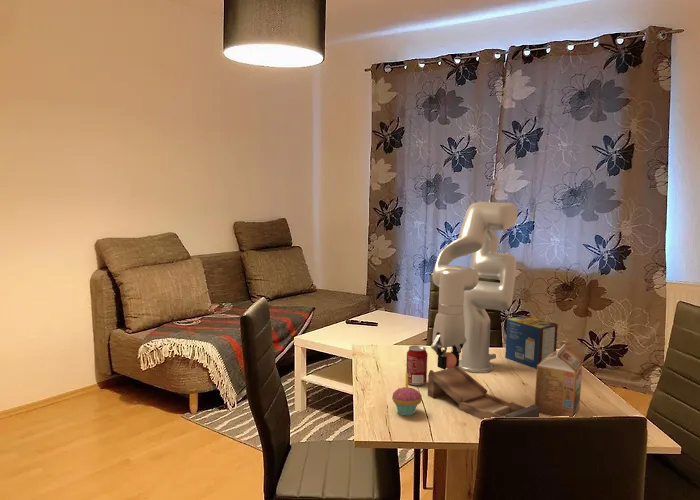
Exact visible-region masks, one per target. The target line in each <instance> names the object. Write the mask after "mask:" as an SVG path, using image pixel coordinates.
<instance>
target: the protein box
mask: <svg viewBox="0 0 700 500" xmlns="http://www.w3.org/2000/svg"><path fill="white" fill-rule="evenodd" d="M506 320H507V322H506V336H505V338H506V339H505V341H506V342H505V353H504V354H505V355H504V358H505V359H507V360H510V361H512V362H515V363H518V364H521V365H523V366H527V367H530V368H533V369H534V370H535V369H536V370H537V365H538V364H539V363H540V362H541V361H542V360H543V359H544V358H545V357H546V356H547V355H549V354H550V353H552V352H555V351H557V344H558V343H557V342H558V341H557V340H558V328H559V327H558V325H559V324H558V323H555V322H551V321H546V320H543V319H539V318H535V317H531V316H528V315H521V316H517V317H516V316H515V317H510V318H507V319H506Z"/></svg>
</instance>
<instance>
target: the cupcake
mask: <svg viewBox="0 0 700 500" xmlns="http://www.w3.org/2000/svg"><path fill="white" fill-rule="evenodd" d="M405 370H406V369H405ZM392 393H393V394H392V397H391V399H392V402H393V403H394V404H395V406H396V410H397V413H398V414H399V415H402V416H412V415H414V414H415V412H416V409H417V406H418V405H419V404H421V402H422V401H423V400H422V399H423V398H422V397H423V396H422V394H421V393H420V390H419V391H418V390H417V389H415V388H412V387H409V383H408V373H407V370H406V371H405V386H404V387H400V388H397V389H395V390H394V392H392Z"/></svg>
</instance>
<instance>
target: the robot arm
mask: <svg viewBox="0 0 700 500" xmlns="http://www.w3.org/2000/svg"><path fill="white" fill-rule="evenodd" d="M517 220H518V209H517V206H516V205H515V204H514V203H511V202H494V201H478V202H477V201H476V202H474V203H471V204H470V205H469V206H468V208H467V210H466V212H465V215H464V218H463V220H462V225H461V228H460V231H459V233H458V237H457V239H455V240H452V242H450V243H449V244H447V245H446V246H445V247H444V248H442V249H441V251H440V252H439V254H438V256H437V259H436V262H435V265H434V268H433V271H432V283H433V284H434V285H435V286H437V287H438V293H439V294H438V308H437V309H438V310H437V311H438V313H435V314H436V315H435V317H434V323H433V331H432V344H431V346H430V348H431V349H433V351H434V352H435V353H436V356H437V368H439V369H442V370H445V369H447V368H446V364H447V357H446V356H445V355H446V352H447V350H448V348H450V347H451V351H450V353H453V354H454V355H455V356H456V359H457V362H456V365H455V366H459V367H460V368H461V369H463V370H464V371H465V372H470V373H471V372H472V373H487V372H490V371H492V370H493V366H494V365H493V364H492V363H491V362H490V361H491V360H494V359H497V355H496V353H490V338H491V337H490V336H491V318H490V316H489V313H487V311H486V309H487V310H494V311H508V310H509V309H510V308H511V306H512V303H513V298H514V297H513V296H514V292H515V291H514V290H515V282H516V275H517V274H516V273H517V260H516V258H515V256H514V255H512V254H509V253H506V252H504V253H503V252H498V246H499V245H498V244H499V238H498V237H497V235H496V233H495V231H506V230H509V229H511V228H512V227H513V226H514V225H515V224H516V222H517ZM468 255H471V259H470V265H469V266H462V265H455V264H454V265H453V264H451V263H452V262H453V261H454V260H457V259H458V258H461V257H465V256H468ZM480 278H482V279H488V280H491V279H492V280H496V281H497V280H498V281H500V282H495V281H485V280H479V279H480ZM460 354H461V359H460Z"/></svg>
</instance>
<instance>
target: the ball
mask: <svg viewBox="0 0 700 500" xmlns="http://www.w3.org/2000/svg"><path fill="white" fill-rule="evenodd" d="M445 356H446V357H447V364H446V369H450V368H453V367H454V366H455V365H456V362H457V359H456V356H455V355H454V354H453V353H451V351H449V352H447V351H446V355H445Z"/></svg>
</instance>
